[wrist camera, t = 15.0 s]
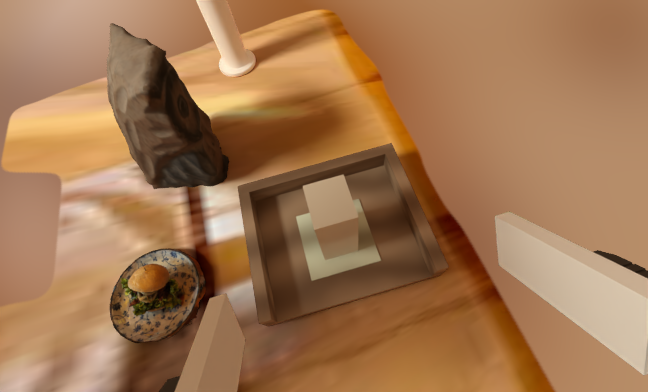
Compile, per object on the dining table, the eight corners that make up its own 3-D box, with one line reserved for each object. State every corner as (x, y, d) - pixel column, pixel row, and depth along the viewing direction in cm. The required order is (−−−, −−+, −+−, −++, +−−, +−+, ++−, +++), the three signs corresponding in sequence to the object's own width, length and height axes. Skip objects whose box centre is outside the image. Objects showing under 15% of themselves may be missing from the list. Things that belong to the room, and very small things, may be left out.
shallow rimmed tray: (440, 275, 38) (448, 267, 35) (268, 326, 38) (258, 323, 34) (388, 159, 47) (391, 143, 43) (247, 199, 46) (237, 186, 42)
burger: (102, 300, 41) (53, 290, 35) (171, 235, 45) (139, 214, 38) (152, 367, 37) (108, 370, 31) (225, 289, 41) (199, 277, 34)
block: (358, 250, 39) (358, 217, 30) (325, 260, 39) (314, 229, 29) (346, 216, 42) (343, 174, 32) (315, 225, 42) (302, 185, 32)
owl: (184, 125, 54) (98, 13, 36) (251, 135, 51) (194, 20, 34) (149, 188, 49) (29, 93, 31) (222, 202, 46) (137, 108, 28)
